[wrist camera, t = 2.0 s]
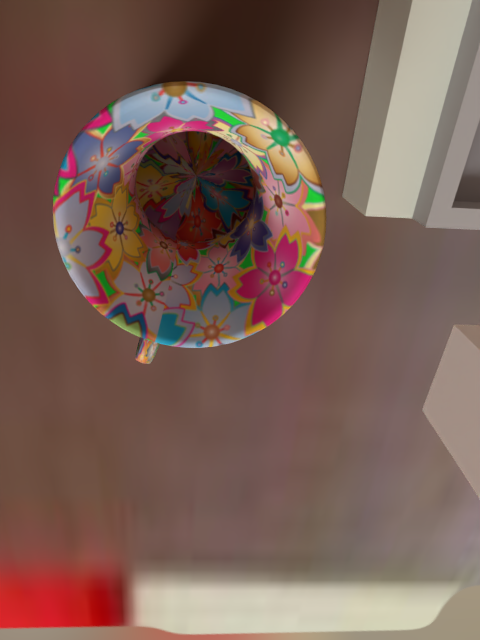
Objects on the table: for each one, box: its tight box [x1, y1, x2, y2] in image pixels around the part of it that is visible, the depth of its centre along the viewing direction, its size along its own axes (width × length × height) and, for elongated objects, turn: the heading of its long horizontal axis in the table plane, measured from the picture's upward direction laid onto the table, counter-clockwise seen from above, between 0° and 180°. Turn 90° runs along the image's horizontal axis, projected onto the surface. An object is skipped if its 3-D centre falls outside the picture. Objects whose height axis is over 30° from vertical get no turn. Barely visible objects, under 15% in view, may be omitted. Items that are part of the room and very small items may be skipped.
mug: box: [53, 81, 326, 364], centre depth 20 cm, size 12×9×11 cm
